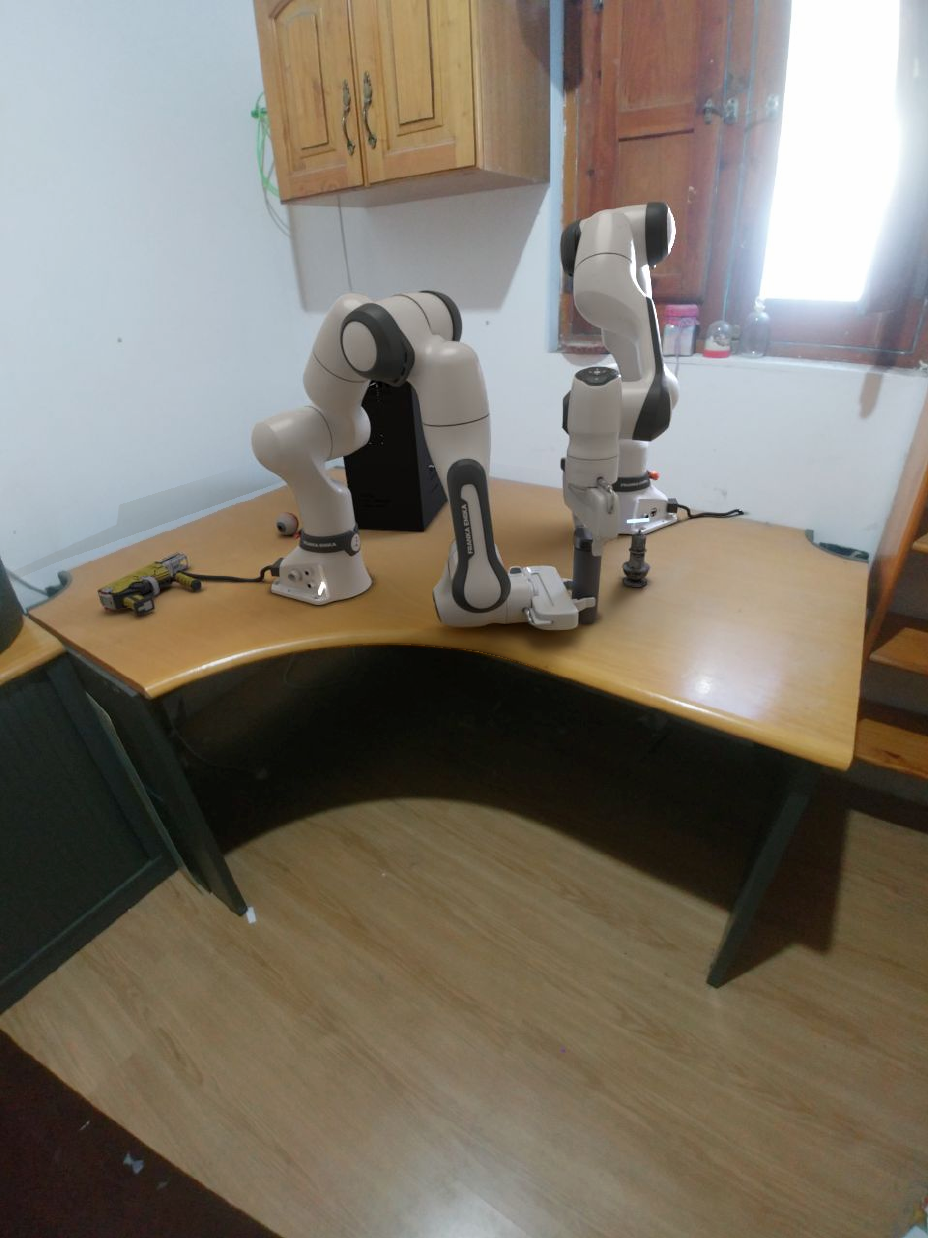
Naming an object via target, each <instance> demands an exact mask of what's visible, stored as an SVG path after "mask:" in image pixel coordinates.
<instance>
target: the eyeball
mask: <svg viewBox="0 0 928 1238" xmlns="http://www.w3.org/2000/svg"><path fill="white" fill-rule="evenodd" d="M299 525H300V522H299V519H298V517H297V516H296V515H295V514H294V513H292V512H287V511H286V512H282V513H280V514H279V515H278V516H277V517H276V520H275V527H276V529H277V530H278V531H279V532H280V533H281V534H282V535H285V536H286V535H287V536H289V535H294V534H295V533H297V532H298V529H299Z"/></svg>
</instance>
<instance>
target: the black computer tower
mask: <svg viewBox="0 0 928 1238" xmlns="http://www.w3.org/2000/svg"><path fill="white" fill-rule="evenodd" d="M361 407H362V408H363V409H364V410H365V412H366V413H367V416H368V418H369V421H370V427H371V431H370V437H369V440H368V442H367V443H366V444H365V445H364V446H362V447H361V448H359V449H358V450H356V451H355V452H353V453H351V454H349V455H346V456H343V457H342V460H343V466H344V472H345V478H346V486H347V488H348V489H349V490H350V493H351V498H352V504H353V511H354V518H355V522H356V523H357V525H358V529H360V530H361V529H362V530H363V529H364V530H366V529H367V530H389V531H412V532H413V531H414V532H415V531H416V532H425V531H426V529H427V528H428V527H429V526H430V524H431V523H432V522H433V520H434V519H435V518H436V516H437V515H438V513H439V512H440V511H441V510H442V508H443V507H444V505H445V504H446V503H447V502H448V499H447V496H446V493H445V491H444V488H443V486H442V483H441V481H440V479H439V476H438V474H437V472H436V469H435V467H434V464H433V462H432V459H431V456H430V453H429V450H428V447H427V443H426V440H425V436H424V431H423V426H422V419H421V411H420V404H419V399H418V395H417V392H416V390H415V389H414V387H413V386H412V385H411V384H410V383H409V382H408V381H405V382H404V383H403V384H402V385H401V386H399V387H395V386H392V385H389V384H387V383H385V382H381V381H374V380H371V381H370V383H369V386H368V388H367V390H366V393H365V395H364V397H363V400H362V403H361Z"/></svg>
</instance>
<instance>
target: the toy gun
mask: <svg viewBox="0 0 928 1238" xmlns="http://www.w3.org/2000/svg"><path fill="white" fill-rule="evenodd" d="M185 560H186V564H183V563H181V562H182V561H185ZM188 568H189V562H188V556H187V554H186V553H183V552H182V553H180V552H178V551H176V552H175V553H173V554H171V555H168V556H166V557H164V558H162V559H161V560H157V561H154V562H152V563H150V564H148V565H146V566H144V567H142V568H139V569H136V570H135V571H133V572H131V573H129V574H126V575H125V576H123V577H121V578H119V579H116V580H114V581H112V582H110V583H108V584H106V585H104V586H102V587H100V588H98V590H97V594H98V597H99V603H100V604H101V607H102V608H104V610H106V611H107V610H108V611H109V612H110V611H111V612H112V611H113V610H115V611H119V610H126V609H129V608H130V609H132V610H134V612H135V616H136V617H141V616H143V615H145V614H148V613H150V612H152V611H154V610H156V608H155V604H154V599H153V597H155V596H156V595H159V594H160V590H161V589H163V588H166V587H169V586H171V585H173V583H177V584H179V585H181V586H184V587H187V588H188V589H192V591H195V592H196V591H199V590H200V589H201V588H203V587H202V581H201V579H196V578H191V577H189V576H186V575H183V574H181V573H177V571H178V570H181V571H183V570H185V569H188Z"/></svg>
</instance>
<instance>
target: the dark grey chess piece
mask: <svg viewBox="0 0 928 1238" xmlns="http://www.w3.org/2000/svg"><path fill="white" fill-rule="evenodd" d="M646 543H647V535H646V534H643V533H641V530H640V529H639V531H638V533H635V534H634V535H633V534H632V536H631V544H630V547H629V548H628V551H629V559H628V560H627V561H625V562H623V563H622V564H621V568H622V571H623V574H624V575H625V576H624V577H623V578H622V580H621V582H622V584H624V585H625V586H628V587H632V588H641V587H644V586H647V584H648V580H647V579H646V577H647V576H648V573H649V571H650V570H651V565H650V564H649V563H648V562H646V561H645V558H646V557H645V555H646V552H648V551H647V550H648V549H647V548H646Z"/></svg>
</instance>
